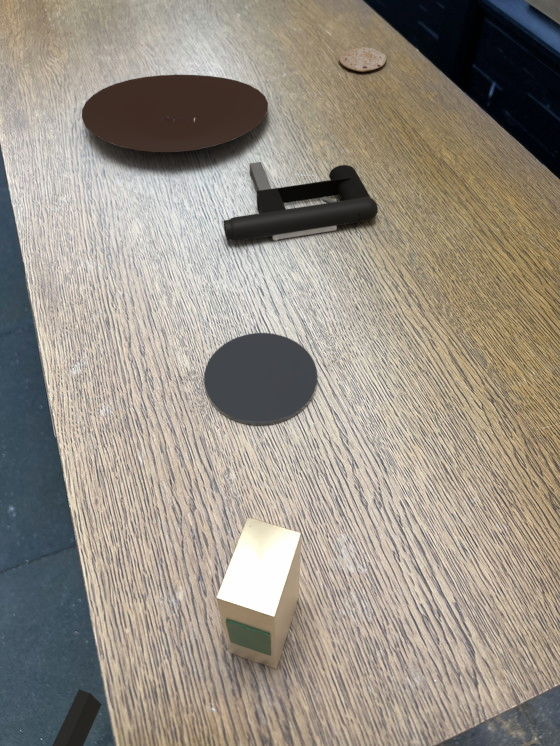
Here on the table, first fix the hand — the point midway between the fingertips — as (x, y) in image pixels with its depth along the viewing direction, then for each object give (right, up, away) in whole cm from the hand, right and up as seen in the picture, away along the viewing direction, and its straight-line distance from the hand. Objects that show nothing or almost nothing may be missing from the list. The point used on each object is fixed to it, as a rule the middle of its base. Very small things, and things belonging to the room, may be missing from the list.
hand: (198, 736), depth 37 cm
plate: (-11, +59, +64) cm, 88 cm away
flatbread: (+19, +73, +74) cm, 106 cm away
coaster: (+2, +20, +33) cm, 38 cm away
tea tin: (+3, 0, +17) cm, 17 cm away
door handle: (+6, +43, +51) cm, 67 cm away
